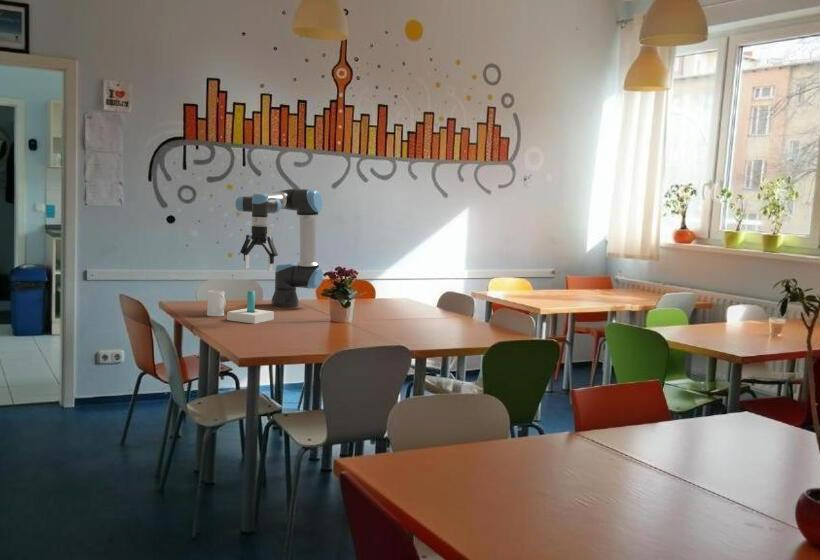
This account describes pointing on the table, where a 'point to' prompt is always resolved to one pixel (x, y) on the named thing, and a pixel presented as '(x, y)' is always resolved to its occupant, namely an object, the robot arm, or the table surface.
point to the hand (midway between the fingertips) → (258, 269)
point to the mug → (216, 303)
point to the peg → (251, 302)
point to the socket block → (250, 316)
